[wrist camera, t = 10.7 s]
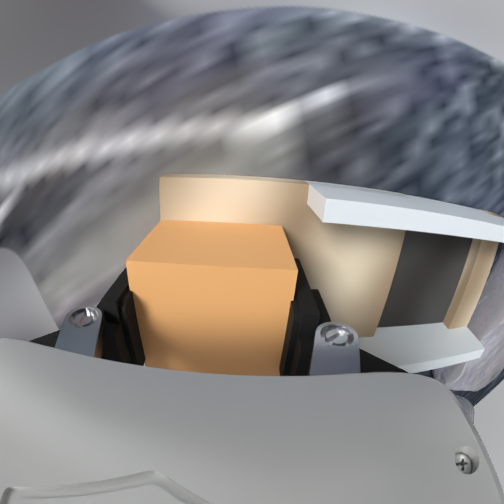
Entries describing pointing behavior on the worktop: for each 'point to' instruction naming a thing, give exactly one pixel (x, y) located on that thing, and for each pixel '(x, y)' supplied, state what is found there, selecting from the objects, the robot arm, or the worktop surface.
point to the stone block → (482, 338)
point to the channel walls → (414, 219)
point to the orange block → (213, 296)
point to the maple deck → (347, 252)
